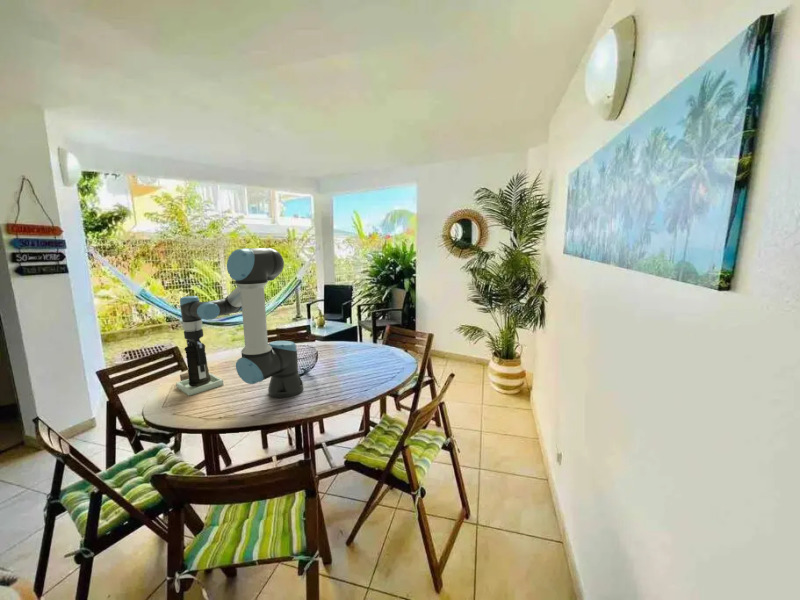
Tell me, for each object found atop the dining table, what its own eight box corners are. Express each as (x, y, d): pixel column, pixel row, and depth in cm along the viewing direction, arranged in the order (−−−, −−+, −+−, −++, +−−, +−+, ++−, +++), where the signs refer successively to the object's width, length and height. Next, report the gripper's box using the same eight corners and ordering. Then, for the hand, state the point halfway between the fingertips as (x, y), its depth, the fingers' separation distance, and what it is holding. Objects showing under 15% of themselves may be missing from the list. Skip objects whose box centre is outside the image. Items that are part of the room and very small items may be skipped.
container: (214, 378, 163) (210, 343, 160) (202, 386, 154) (197, 349, 151) (197, 378, 164) (192, 343, 161) (184, 386, 155) (178, 349, 152)
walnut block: (192, 381, 165) (191, 374, 165) (183, 384, 162) (182, 376, 161) (189, 379, 168) (188, 372, 167) (180, 382, 165) (179, 374, 164)
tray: (223, 384, 161) (223, 379, 160) (188, 396, 149) (188, 390, 149) (210, 377, 170) (209, 372, 170) (176, 387, 159) (176, 382, 158)
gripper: (211, 331, 151) (216, 378, 155) (193, 324, 164) (199, 368, 168) (193, 334, 146) (199, 384, 149) (175, 327, 158) (182, 373, 162)
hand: (199, 375), depth 159 cm, fingers closed on container, 8 cm apart
